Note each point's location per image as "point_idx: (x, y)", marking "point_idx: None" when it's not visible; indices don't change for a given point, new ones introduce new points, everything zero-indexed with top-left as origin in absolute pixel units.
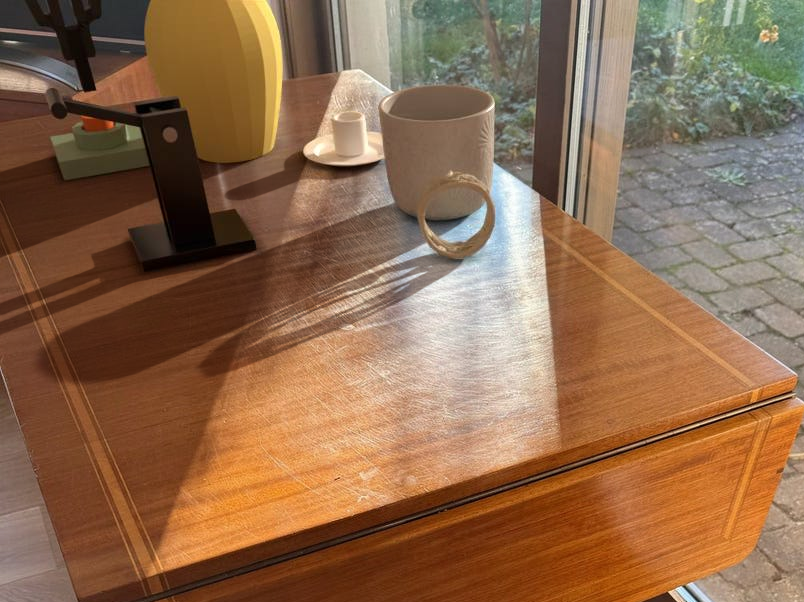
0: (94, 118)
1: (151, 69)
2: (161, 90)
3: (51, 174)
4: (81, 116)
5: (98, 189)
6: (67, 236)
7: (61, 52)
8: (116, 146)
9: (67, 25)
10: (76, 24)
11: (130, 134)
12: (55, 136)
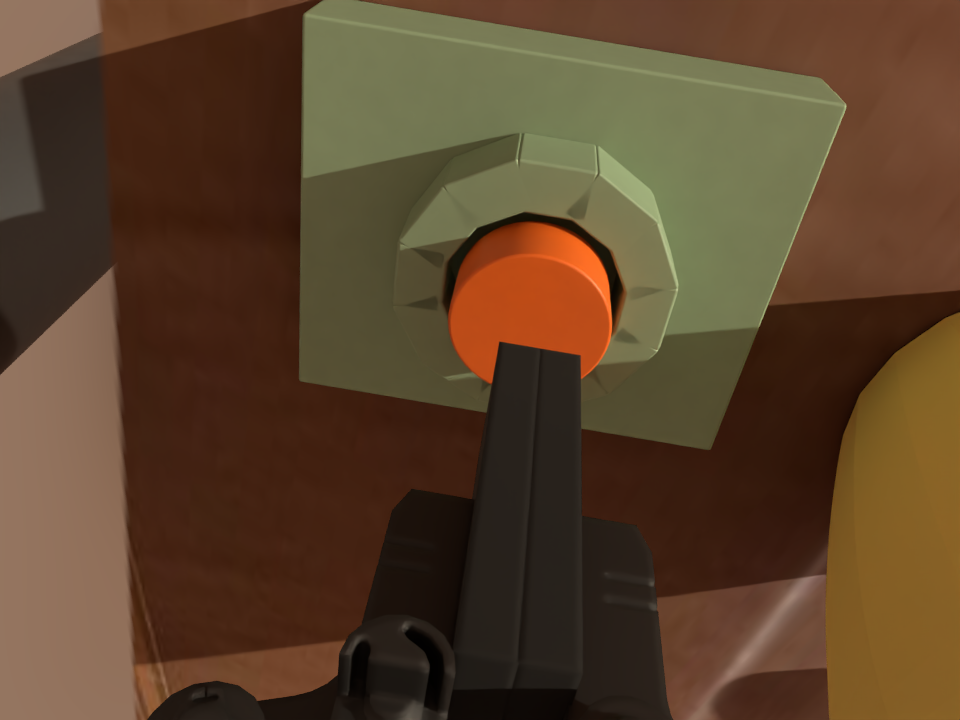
0: None
1: (872, 672)
2: (839, 630)
3: (277, 243)
4: (451, 323)
5: (413, 471)
6: (270, 664)
7: (389, 523)
8: None
9: (486, 670)
10: (573, 690)
11: (682, 262)
12: (332, 33)
